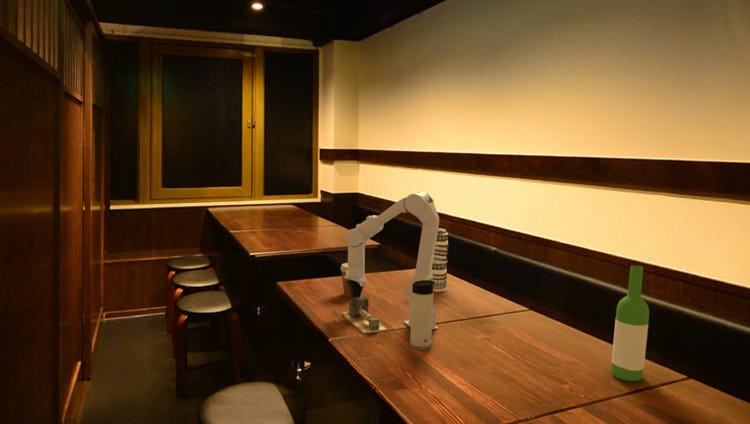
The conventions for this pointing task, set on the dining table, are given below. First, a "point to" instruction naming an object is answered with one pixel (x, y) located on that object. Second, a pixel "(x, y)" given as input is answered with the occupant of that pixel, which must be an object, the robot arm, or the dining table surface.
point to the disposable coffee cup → (345, 286)
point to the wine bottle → (630, 331)
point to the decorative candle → (440, 261)
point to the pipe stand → (364, 321)
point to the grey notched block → (358, 305)
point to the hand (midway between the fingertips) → (355, 301)
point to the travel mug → (421, 314)
